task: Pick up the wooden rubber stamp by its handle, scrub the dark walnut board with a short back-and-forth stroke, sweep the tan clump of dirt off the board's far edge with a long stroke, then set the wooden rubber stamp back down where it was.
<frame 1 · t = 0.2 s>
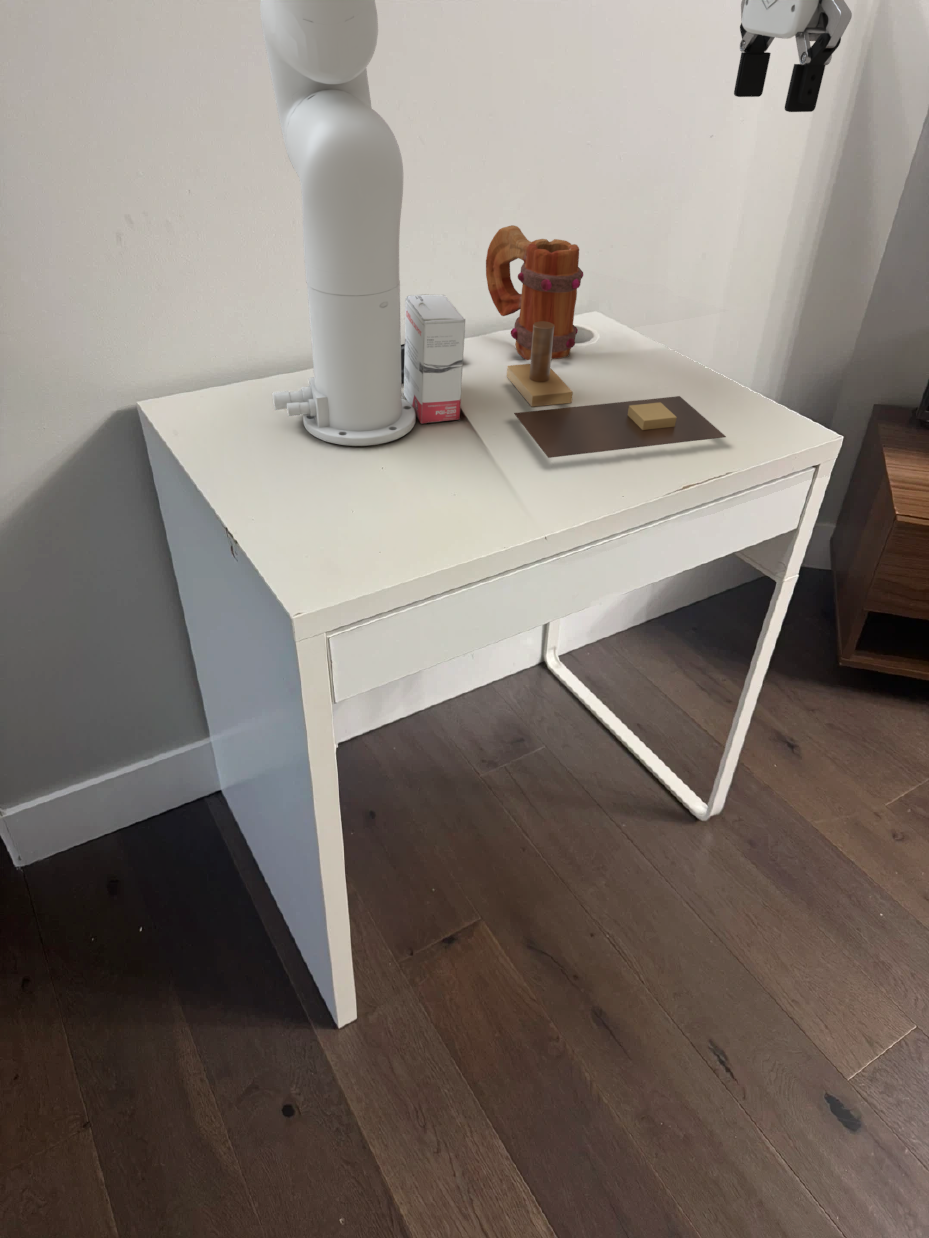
hand: (772, 103, 91), 31 cm above the table, tool pointing down, fingers open, 9 cm apart
mug: (527, 353, 118), on the table
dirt: (650, 421, 99), point 1 cm above the table, touching board
ink box: (432, 408, 103), on the table
wooden rubber stamp: (537, 398, 106), on the table
board: (617, 434, 99), on the table
phone: (400, 369, 112), on the table
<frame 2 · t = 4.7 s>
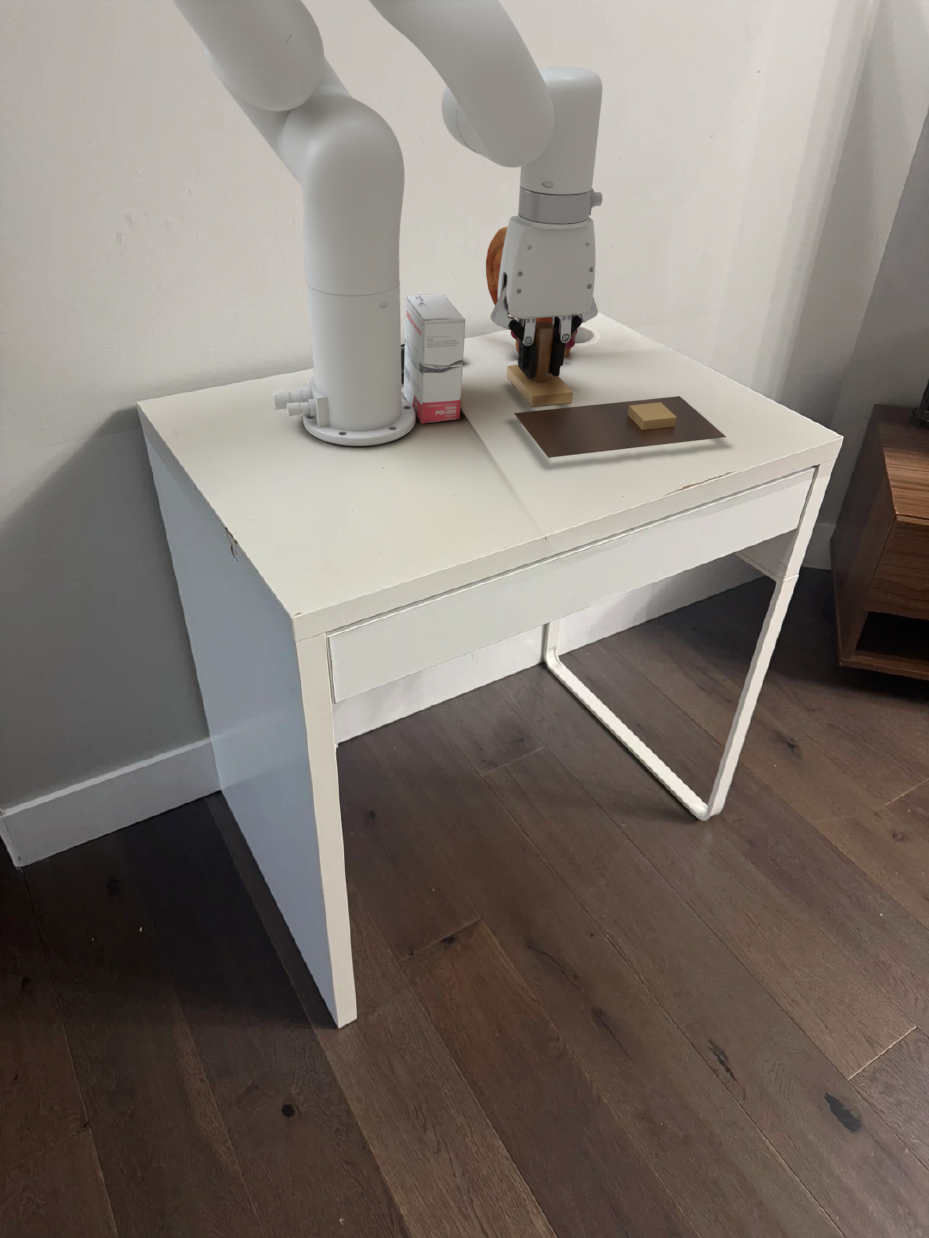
hand: (539, 372, 104), 3 cm above the table, tool pointing down, fingers closed on wooden rubber stamp, 2 cm apart
wooden rubber stamp: (537, 398, 106), on the table, touching gripper
everything else where it was.
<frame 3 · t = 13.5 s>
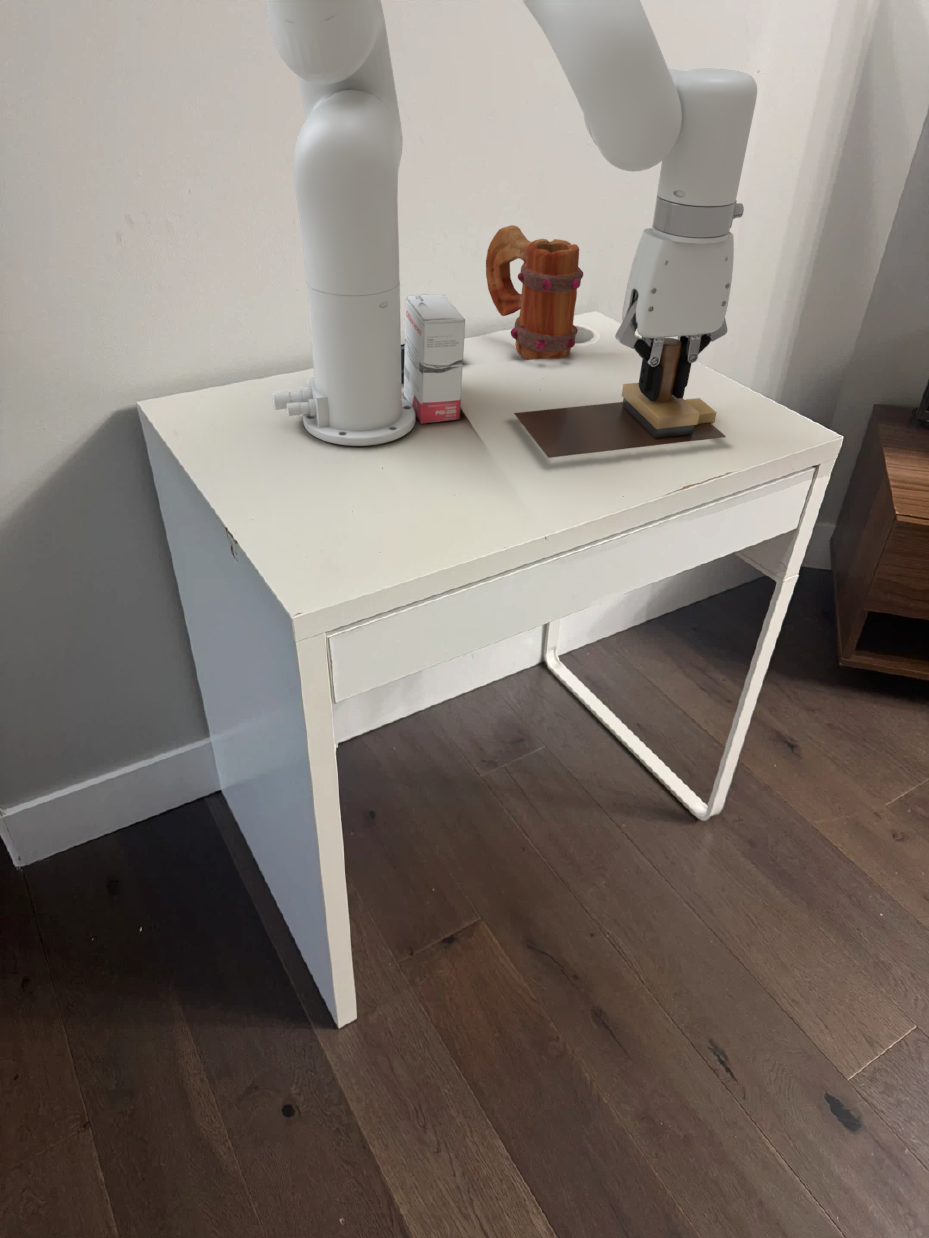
hand: (661, 393, 97), 4 cm above the table, tool pointing down, fingers closed on wooden rubber stamp, 2 cm apart
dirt: (690, 416, 100), point 1 cm above the table
wooden rubber stamp: (656, 419, 99), point 1 cm above the table, touching gripper
everything else where it was.
when the fingers open (3 cm above the table, at t = 21.2 s): wooden rubber stamp stays where it is, on the table.
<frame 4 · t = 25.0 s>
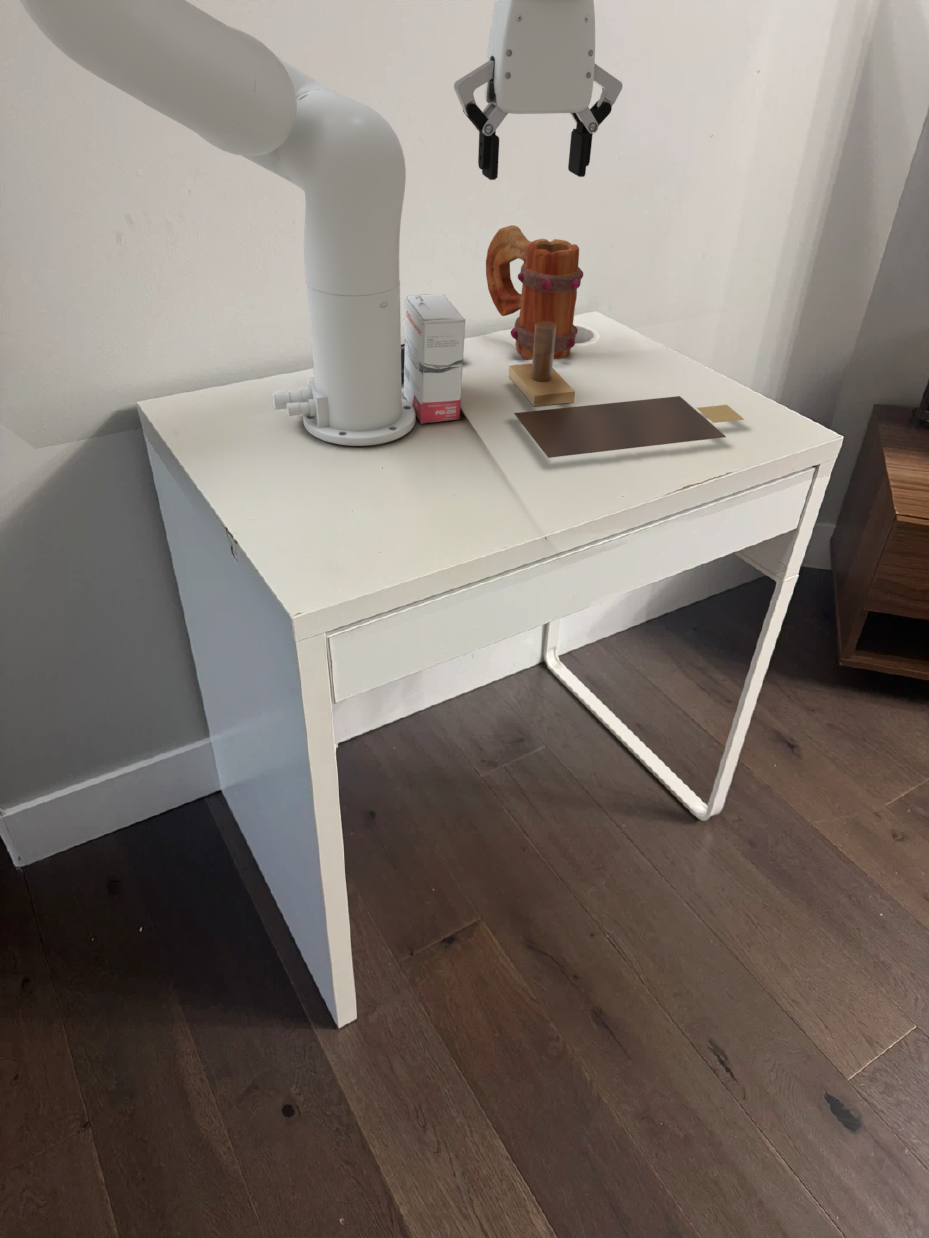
hand: (533, 175, 92), 24 cm above the table, tool pointing down, fingers open, 9 cm apart
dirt: (718, 422, 102), on the table
wooden rubber stamp: (539, 398, 106), on the table
everything else where it was.
at the end: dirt inside the target area (4.9 cm from its centre), on the table; wooden rubber stamp inside the target area (0.3 cm from its centre), on the table; wooden rubber stamp tilted 0° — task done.
